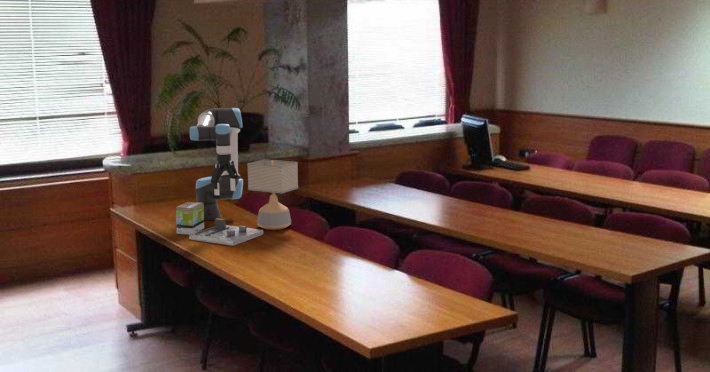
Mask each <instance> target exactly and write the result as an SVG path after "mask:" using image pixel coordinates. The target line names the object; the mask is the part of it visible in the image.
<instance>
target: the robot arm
mask: <svg viewBox="0 0 710 372" xmlns="http://www.w3.org/2000/svg"><path fill="white" fill-rule="evenodd" d="M243 127H244V126H243V118H242V113H241V110H240V108H238V107H219V108H218V107H214V108H210V109H207V110H205V111H203V112H201V113H200V114H199V116H198V117H197V124H196V125H195V126H190V127H189V138H190V140H191V141H198V142H199V141H215V144H216V161H217V162H218V163H214V164H213V170H212V175H211V176H206V177H201V178H199V179H197V180H196V182H195V193H196V194H195V195H196V196H195V197H196V202H199V203H204V221H212V220H213V221H214V220H215V219H216V218H220V219H221V217H222V214H221V212H220V209H219V208H220V207H219V206H218V200H239V199H240V198H242V195H243V188H244V187H243V186H244V179H243V178H241V175H240V173H239V153H238V150H239V149H238V147H239V146H238V144H239V143H238V139H239V137H238V134H239V133H240V132H241V129H242V128H243Z"/></svg>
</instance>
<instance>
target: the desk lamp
mask: <svg viewBox="0 0 710 372" xmlns="http://www.w3.org/2000/svg"><path fill="white" fill-rule="evenodd" d="M298 163H299V162H298V161H287V160H278V159H276V160H275V159H265V158H264V159H260V160H256V161H252V162H247V190H248V191H253V192H255V191H256V192H263V193H271V194H270V195H269V200H268V202H267V203H266V204H264V205H263V206H262V207H260V208H259V210H258V214H257V218H256V223H257V225H256V226H257V227H259V228H262V230H266V231H280V230H283V229H286V228H287V227H289V226H290V225H292V219H291V214H290V209H289V208H288V207H287V206H285V205H283V204H282V203H280V202H279V199H278V198H279V197H278V195H277V194H285V193H288V192H291V191H294V190H298V189H299V179H298V178H299V175H298V173H299V171H298V170H299V169H298V167H299V166H298Z"/></svg>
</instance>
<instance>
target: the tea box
mask: <svg viewBox="0 0 710 372" xmlns="http://www.w3.org/2000/svg"><path fill="white" fill-rule="evenodd" d="M175 214H176V215H175V217H176V218H175V220H176V221H175V222H176V224H175V225H176V234H177V235H178V234H179V235H190V234H193V233H194V232H199V231H202V230H205V220H204V203H199V202H197V201H196V202H195V201H193V202H192V201H186V202H184V203H182V204H180V205H178V206H176V207H175Z"/></svg>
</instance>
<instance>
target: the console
mask: <svg viewBox="0 0 710 372" xmlns="http://www.w3.org/2000/svg"><path fill="white" fill-rule="evenodd" d="M263 235H264V229H259V228H250V227H247V225H240V226H237V225H236V226H235V225H228V224H226V228H224V229H215V225H214V226H212V227H209V228H206V229H205V228H204V229H202V230H200V231H198V232H194V233H193V234H188V237H189V240H191V241H198V242H204V243H206V242H207V243H211V244H212V243H213V244H217V245H226V246H233V247H235V246H236V245H239V244H241V243H245V242H247V241H249V240H252V239H255V238H258V237H261V236H263Z"/></svg>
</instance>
